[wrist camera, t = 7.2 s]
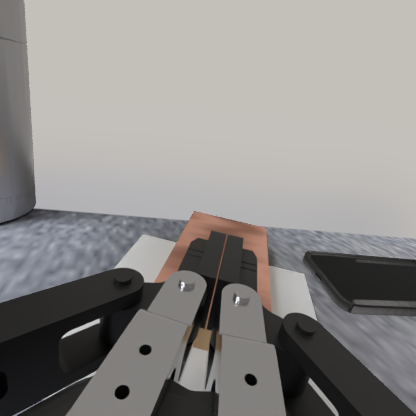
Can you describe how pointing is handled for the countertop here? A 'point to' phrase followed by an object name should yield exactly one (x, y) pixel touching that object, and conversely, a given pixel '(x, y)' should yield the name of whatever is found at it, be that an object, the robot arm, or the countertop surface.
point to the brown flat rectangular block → (202, 228)
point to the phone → (366, 282)
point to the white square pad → (195, 369)
